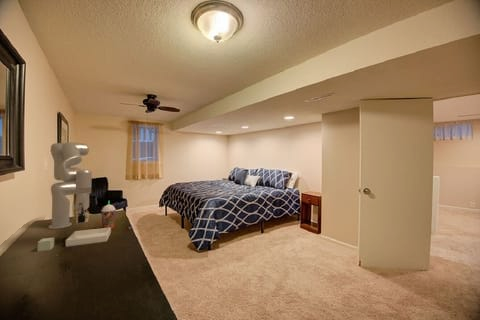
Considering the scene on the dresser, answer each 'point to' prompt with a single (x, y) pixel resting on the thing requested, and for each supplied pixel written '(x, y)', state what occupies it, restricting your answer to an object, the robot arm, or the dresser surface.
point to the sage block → (46, 244)
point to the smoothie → (108, 216)
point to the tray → (88, 236)
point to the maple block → (85, 217)
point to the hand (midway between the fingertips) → (82, 220)
